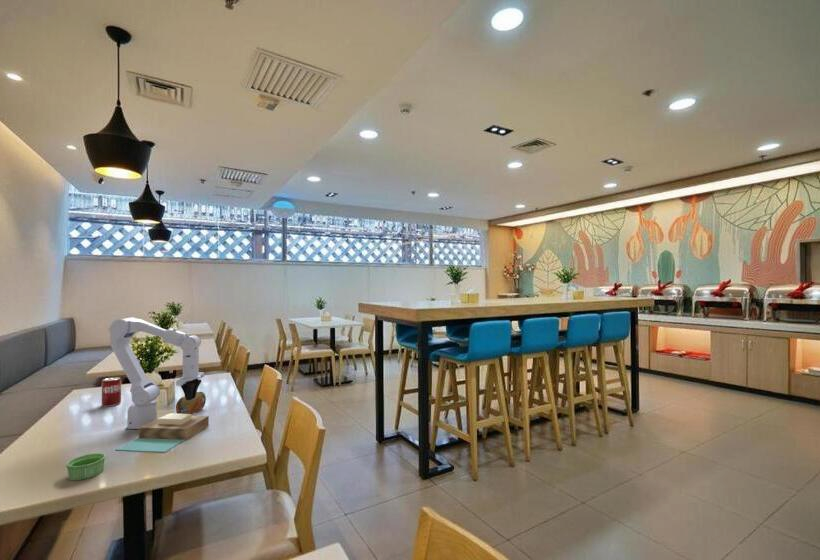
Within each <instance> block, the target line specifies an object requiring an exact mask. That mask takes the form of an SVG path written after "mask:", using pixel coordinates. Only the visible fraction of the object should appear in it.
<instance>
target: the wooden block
mask: <svg viewBox="0 0 820 560" xmlns="http://www.w3.org/2000/svg"><path fill="white" fill-rule="evenodd" d="M165 415H166V414H164V415H162V416H160V417H157V419H156V420H154V421H152V422H149V423H147V424H145V425H143V426H141V427H139V429H138V438H154V439H181V440H185V441H186V440H189V439H190V438H191V437H194V436H195V435H196V434H198V433H199V432H201V431H203V430H205V429H206V428H207V427H209V422H210V421H209V420H210V419H209V415H194V414H191V420H189V421H187V422H185V423H183V424H181V425H175V424H158V419H159V418H161V417H163V416H165Z"/></svg>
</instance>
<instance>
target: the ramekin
mask: <svg viewBox="0 0 820 560" xmlns="http://www.w3.org/2000/svg"><path fill="white" fill-rule="evenodd" d="M106 457H107V456H106V454H105V453H101V452H95V453H89V454H84V455H80V456H76V457H74V458H72V459H70V460H68V461H67V462H66V468H67V476H68V477H67V478H68V479H69V480H71V481H81V479H83V480H87V479H90V477H91V478H93V477H95V476H98V475H100V474H102V472H103V471H104V468H105V466H104V465H105V460H106Z"/></svg>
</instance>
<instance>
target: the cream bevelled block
mask: <svg viewBox="0 0 820 560" xmlns="http://www.w3.org/2000/svg"><path fill="white" fill-rule="evenodd" d="M164 415H165V416H164ZM164 415H162V416H163V417H162V416H160V417H161V418H160V417H158V418H159V419H158V418H157V419H158V424H175V425H181V424H183V423H185V422H187V421H189V420H191V415H192V414H177V412H175V413H173V412H172V413H171V412H170V413H167V414H164Z"/></svg>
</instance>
